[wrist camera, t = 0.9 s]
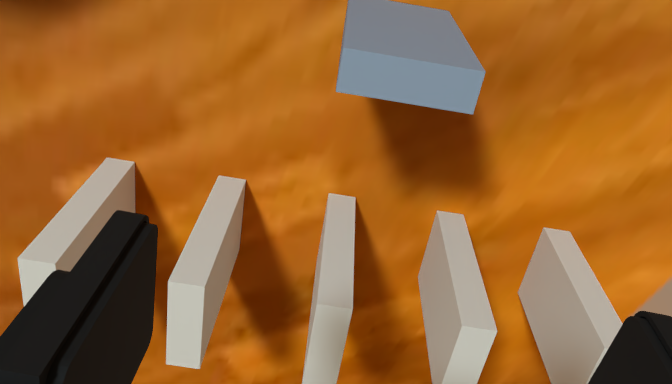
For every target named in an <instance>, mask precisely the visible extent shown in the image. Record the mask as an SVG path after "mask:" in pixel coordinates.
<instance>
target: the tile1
mask: <svg viewBox="0 0 672 384" xmlns="http://www.w3.org/2000/svg"><path fill="white" fill-rule="evenodd" d="M518 294H519V297H520V300H521V303H522V305H523V308H524V311H525V314H526V316H527V319H528V322H529V324H530V327H531V330H532V333H533V335H534V338H535V341H536V343H537V346H538V349H539V352H540V354H541V357H542V360H543V363H544V365H545V368H546V371H547V373H548V376H549V379H550V382H551V384H588V383H589V381H590V379H591V377H592V376H593V374H594V372H595V371H596V369H597V367H598V366H599V364H600V362H601V360H602V359H603V357H604V355H605V354H606V352H607V350H608V348H609V347H610V345H611V343H612V342H613V340H614V338H615V336H616V335H617V333H618V331H619V330H620V328H621V326H622V325H623V324H622V322H621V320H620V318H619V317H618V315H617V313H616V311H615V310H614V308H613V306H612V305H611V303H610V301H609V299H608V298H607V296H606V294H605V292H604V291H603V289H602V287H601V285H600V284H599V282H598V280H597V278H596V277H595V275H594V273H593V271H592V270H591V268H590V266H589V264H588V263H587V261H586V259H585V257H584V256H583V254H582V252H581V250H580V249H579V247H578V245H577V243H576V242H575V240H574V238H573V237H572V235H571V233H570V232H569V231H563V230H557V229H551V228H543V230H542V233H541V235H540V238H539V240H538V243H537V245H536V248H535V250H534V253H533V255H532V258H531V261H530V263H529V266H528V268H527V271H526V273H525V276H524V278H523V281H522V283H521V286H520V288H519V291H518Z"/></svg>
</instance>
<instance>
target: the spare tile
mask: <svg viewBox="0 0 672 384" xmlns="http://www.w3.org/2000/svg"><path fill="white" fill-rule="evenodd" d="M484 75H485V70H484V68H483V67H482V65H481V64H480V62H479V60H478V59H477V57H476V55H475V54H474V52H473V50H472V49H471V47H470V45H469V44H468V42H467V40H466V39H465V37H464V36H463V34H462V32H461V31H460V29H459V27H458V26H457V24H456V22H455V21H454V19H453V17H452V16H451V14H450V12H449V11H445V10H440V9H434V8H428V7H422V6H417V5H411V4H405V3H400V2H394V1H388V0H348V6H347V12H346V18H345V24H344V31H343V39H342V47H341V55H340V62H339V70H338V78H337V86H336V92H341V93H347V94H353V95H359V96H365V97H371V98H377V99H383V100H389V101H395V102H401V103H407V104H413V105H419V106H425V107H431V108H437V109H443V110H449V111H455V112H461V113H467V114H473V113H474V109H475V106H476V102H477V99H478V96H479V92H480V89H481V85H482V82H483V79H484Z"/></svg>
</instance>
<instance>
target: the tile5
mask: <svg viewBox="0 0 672 384" xmlns="http://www.w3.org/2000/svg"><path fill="white" fill-rule="evenodd" d="M116 210H122V211H127V212H132V213H135V162H132V161H126V160H119V159H113V158H106V159H105V161H104V162H103V163H102V164H101V165H100V166H99V167H98V168H97V170H96V171H95V172H94V173H93V174H92V175H91V176H90V177H89V179H88V180H87V181H86V182H85V183H84V184H83V185H82V186H81V188H80V189H79V190H78V191H77V192H76V193H75V194H74V195H73V196H72V198H71V199H70V200H69V201H68V202H67V203H66V204H65V205H64V207H63V208H62V209H61V210H60V211H59V212H58V213H57V214H56V216H55V217H54V218H53V219H52V220H51V221H50V222H49V223H48V225H47V226H46V227H45V228H44V229H43V230H42V231H41V232H40V234H39V235H38V236H37V237H36V238H35V239H34V240H33V241H32V243H31V244H30V245H29V246H28V247H27V248H26V249H25V250H24V252H23V253H22V254H21V255H20V256H19V257H18V265H19V273H20V281H21V288H22V296H23V303H24V306H25V305H26V304H27V302H28V301H29V300H30V299H31V297H32V296H33V295H34V294H35V292H36V291H37V290H38V289H39V287H40V286H41V285H42V283H43V282H44V281H45V280H46V278H47V277H48V276H49V275H50V274H51V273H52V272H53V271H56V270H63V271H69V272H70V271H71V270H72V268H73V267H74V266H75V264H76V263H77V262H78V260H79V259H80V258H81V256H82V255H83V254H84V252H85V251H86V250H87V248H88V247H89V246H90V244H91V243H92V242H93V240H94V239H95V238H96V236H97V235H98V234H99V232H100V231H101V230H102V228H103V227H104V226H105V224H106V223H107V222H108V220H109V219H110V217H111V216H112V215H113V213H114V212H115V211H116Z"/></svg>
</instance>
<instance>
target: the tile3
mask: <svg viewBox="0 0 672 384" xmlns="http://www.w3.org/2000/svg"><path fill="white" fill-rule="evenodd" d="M355 200H356V197H351V196H344V195H338V194H332V193H329V195H328V200H327V206H326V212H325V217H324V223H323V229H322V234H321V240H320V246H319V251H318V257H317V263H316V272H315V280H314V288H313V297H312V305H311V313H310V322H309V330H308V338H307V347H306V355H305V364H304V372H303V380H302V384H336V382H337V378H338V373H339V369H340V364H341V360H342V356H343V351H344V347H345V342H346V338H347V333H348V329H349V324H350V320H351V315H352V311H353V284H354V242H355Z"/></svg>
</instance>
